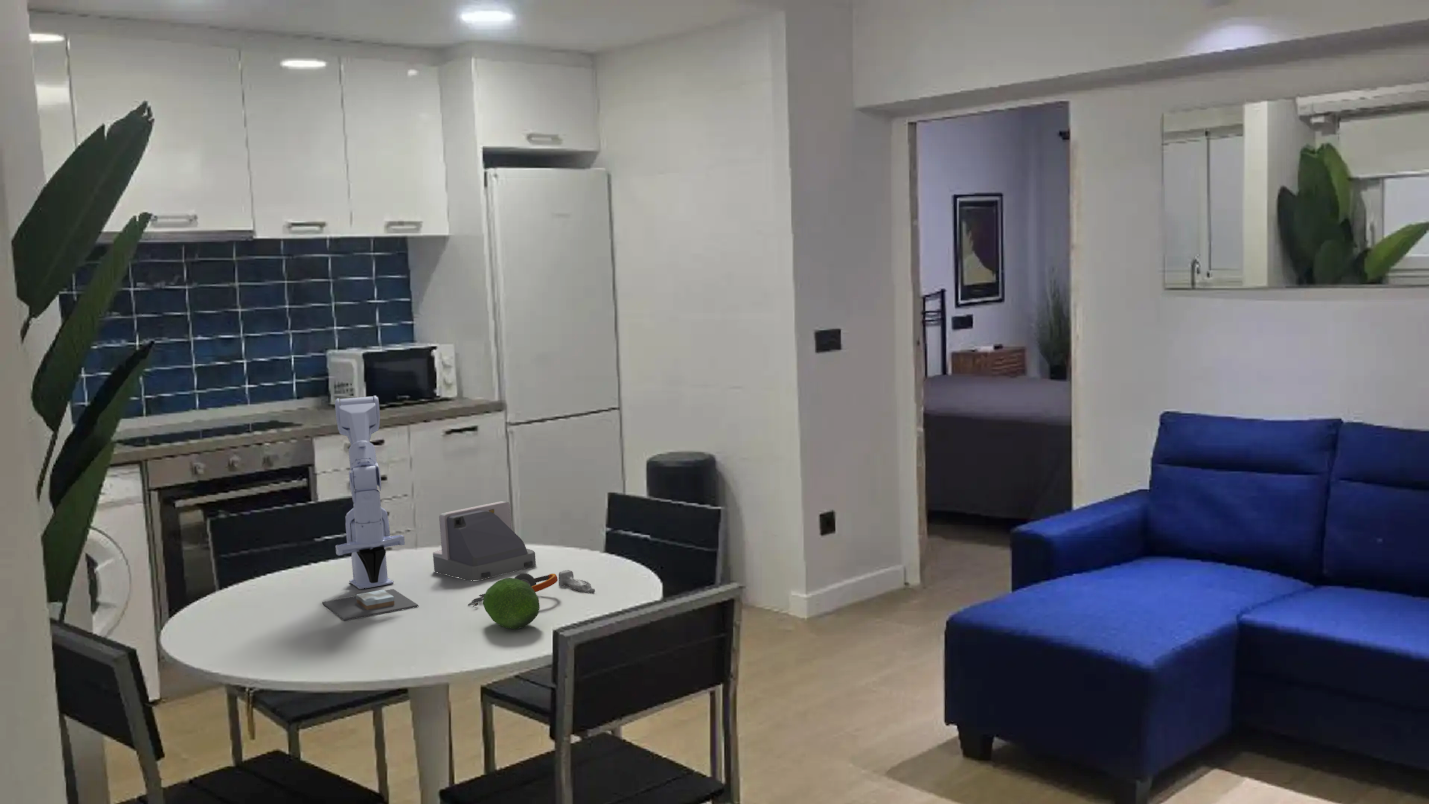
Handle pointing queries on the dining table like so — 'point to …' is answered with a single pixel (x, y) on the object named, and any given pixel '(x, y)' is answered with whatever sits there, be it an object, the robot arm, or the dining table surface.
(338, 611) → the mat
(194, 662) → the dining table surface
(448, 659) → the dining table surface
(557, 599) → the dining table surface
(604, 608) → the dining table surface
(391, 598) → the tile
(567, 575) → the figurine
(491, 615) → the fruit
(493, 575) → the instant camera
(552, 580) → the headphones
